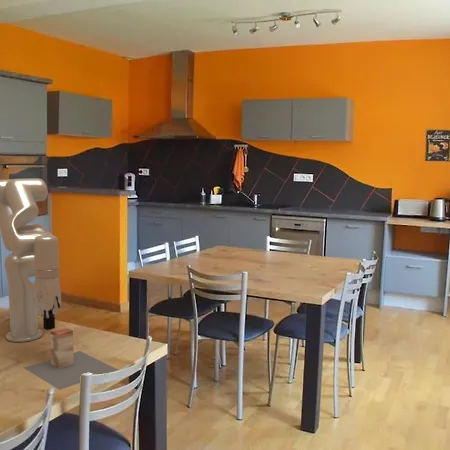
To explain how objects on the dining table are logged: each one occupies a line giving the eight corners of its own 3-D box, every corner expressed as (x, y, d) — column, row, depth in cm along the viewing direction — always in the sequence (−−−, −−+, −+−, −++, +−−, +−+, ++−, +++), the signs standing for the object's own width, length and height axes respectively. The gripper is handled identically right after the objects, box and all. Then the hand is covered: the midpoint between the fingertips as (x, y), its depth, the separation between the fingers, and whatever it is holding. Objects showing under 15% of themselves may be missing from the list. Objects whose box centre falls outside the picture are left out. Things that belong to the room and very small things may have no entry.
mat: (23, 369, 167) (23, 367, 167) (80, 352, 181) (80, 350, 181) (59, 391, 152) (59, 389, 152) (118, 371, 167) (118, 369, 166)
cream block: (51, 364, 170) (50, 330, 168) (65, 359, 174) (64, 326, 172) (59, 368, 167) (58, 334, 165) (73, 364, 170) (72, 330, 169)
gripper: (25, 272, 174) (27, 326, 176) (48, 279, 164) (50, 336, 166) (46, 268, 179) (48, 321, 182) (69, 275, 169) (71, 331, 172)
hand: (49, 328), depth 174 cm, fingers closed
